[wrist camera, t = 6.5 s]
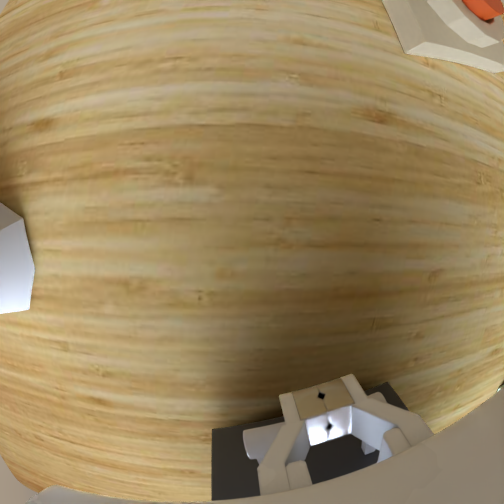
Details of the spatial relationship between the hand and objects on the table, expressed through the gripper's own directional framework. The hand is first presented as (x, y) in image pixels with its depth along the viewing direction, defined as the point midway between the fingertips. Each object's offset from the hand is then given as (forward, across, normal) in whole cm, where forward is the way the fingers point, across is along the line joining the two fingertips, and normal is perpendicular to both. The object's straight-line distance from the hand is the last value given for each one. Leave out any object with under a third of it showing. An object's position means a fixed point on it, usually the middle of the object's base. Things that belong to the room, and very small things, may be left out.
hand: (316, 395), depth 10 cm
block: (+5, -15, -18) cm, 24 cm away
